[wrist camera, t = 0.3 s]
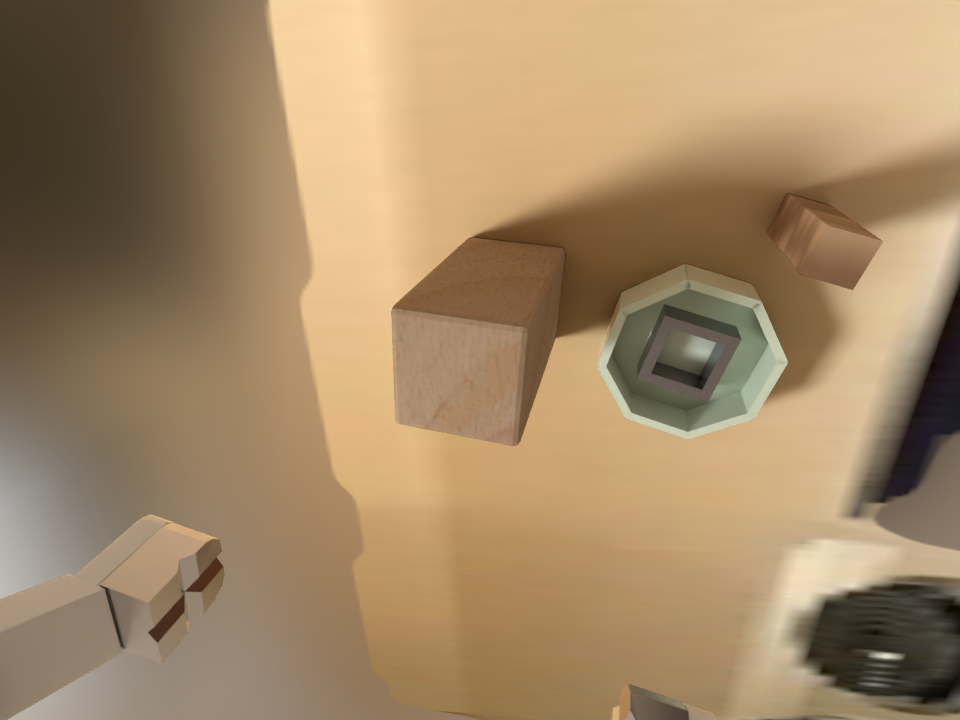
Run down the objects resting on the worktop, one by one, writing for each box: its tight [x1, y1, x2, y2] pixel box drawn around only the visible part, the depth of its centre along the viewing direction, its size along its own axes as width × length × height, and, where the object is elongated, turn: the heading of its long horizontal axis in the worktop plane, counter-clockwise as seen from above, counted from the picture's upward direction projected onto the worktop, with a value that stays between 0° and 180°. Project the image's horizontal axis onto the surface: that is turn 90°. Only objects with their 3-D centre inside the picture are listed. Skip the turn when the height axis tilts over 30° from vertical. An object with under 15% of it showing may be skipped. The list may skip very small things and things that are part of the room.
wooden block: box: [391, 237, 566, 446], centre depth 48 cm, size 10×10×20 cm
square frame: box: [637, 304, 742, 402], centre depth 52 cm, size 7×7×3 cm
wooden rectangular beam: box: [767, 193, 883, 290], centre depth 42 cm, size 4×4×12 cm
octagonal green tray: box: [597, 264, 788, 439], centre depth 52 cm, size 15×15×5 cm
